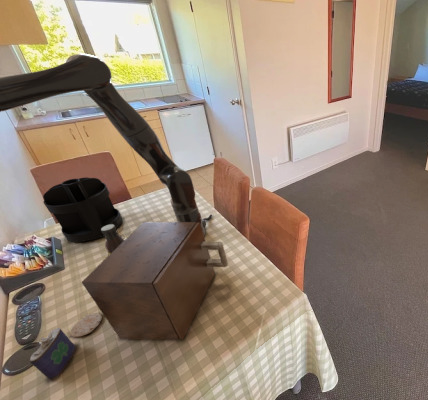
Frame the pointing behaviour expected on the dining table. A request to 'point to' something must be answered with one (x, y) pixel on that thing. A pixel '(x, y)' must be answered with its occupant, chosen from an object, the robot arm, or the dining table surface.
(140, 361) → the dining table surface
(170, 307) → the door
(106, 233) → the sauce bottle
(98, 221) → the container
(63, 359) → the flask
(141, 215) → the dining table surface
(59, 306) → the dining table surface
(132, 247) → the cupboard
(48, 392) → the dining table surface
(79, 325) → the flatbread
